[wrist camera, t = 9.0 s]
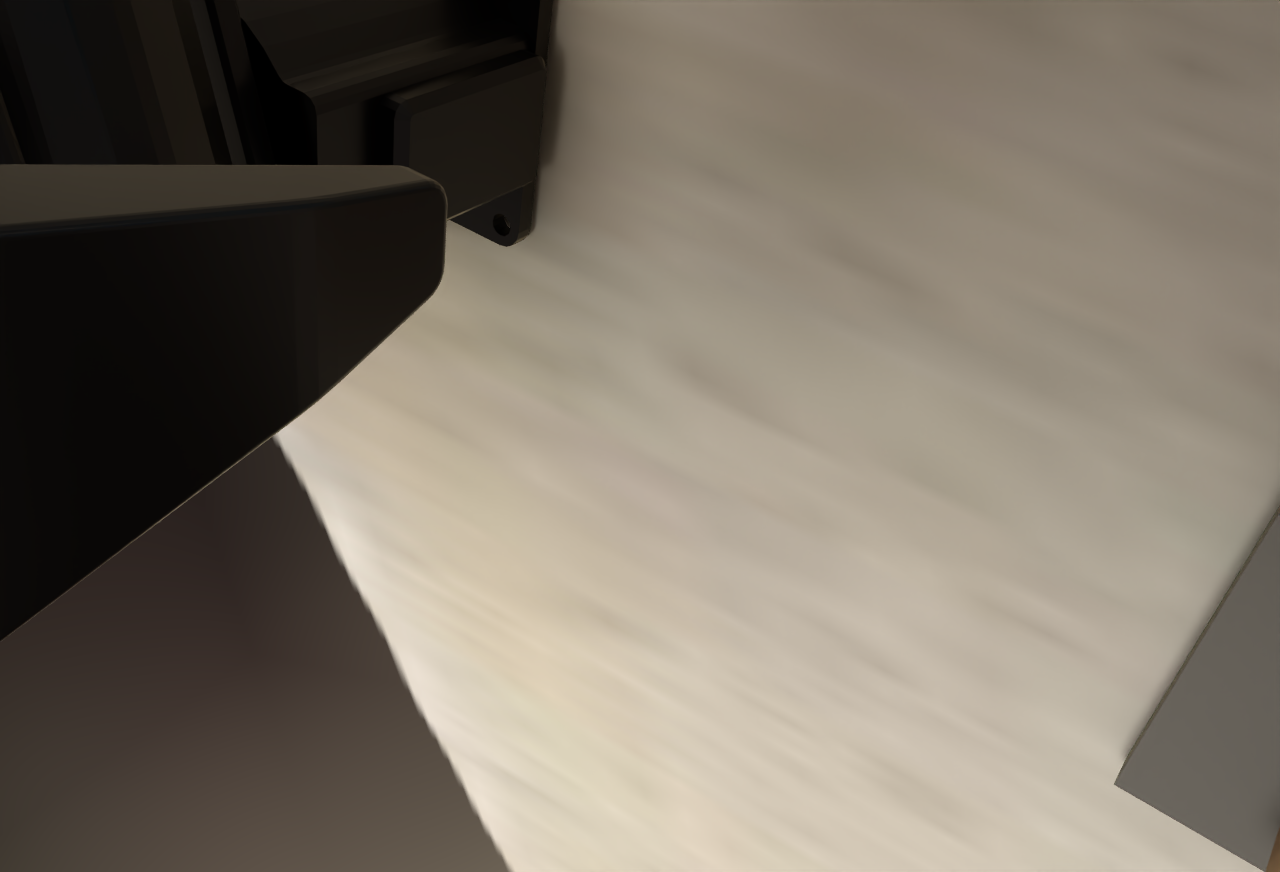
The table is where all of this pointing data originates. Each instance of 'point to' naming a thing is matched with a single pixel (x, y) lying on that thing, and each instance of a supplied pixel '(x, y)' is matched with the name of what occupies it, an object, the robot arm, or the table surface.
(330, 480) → the table surface
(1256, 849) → the rubber mat
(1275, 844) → the walnut lid
